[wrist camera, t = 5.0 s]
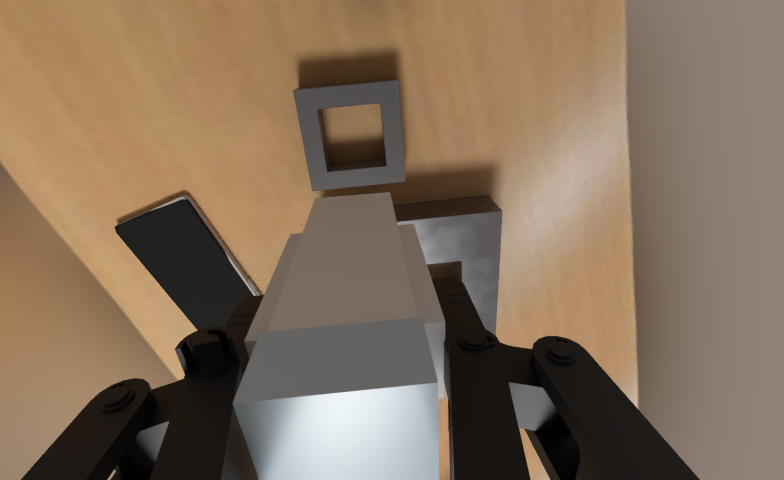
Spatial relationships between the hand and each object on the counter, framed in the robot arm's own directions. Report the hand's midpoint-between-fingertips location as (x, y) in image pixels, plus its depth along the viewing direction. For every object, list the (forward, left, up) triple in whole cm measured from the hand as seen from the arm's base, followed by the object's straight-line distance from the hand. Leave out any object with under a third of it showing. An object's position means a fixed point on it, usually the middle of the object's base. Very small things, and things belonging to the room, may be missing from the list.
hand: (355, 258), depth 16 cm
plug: (0, 0, -3) cm, 3 cm away
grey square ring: (-2, 0, -19) cm, 19 cm away
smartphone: (+10, -17, -20) cm, 28 cm away
